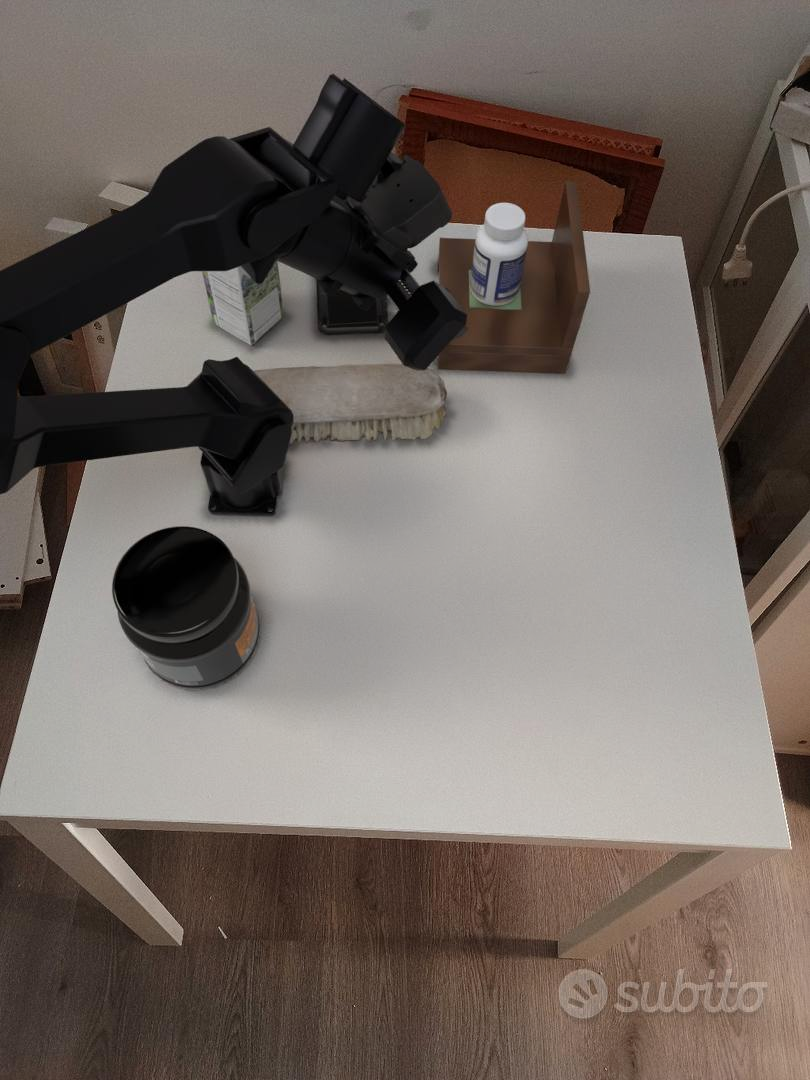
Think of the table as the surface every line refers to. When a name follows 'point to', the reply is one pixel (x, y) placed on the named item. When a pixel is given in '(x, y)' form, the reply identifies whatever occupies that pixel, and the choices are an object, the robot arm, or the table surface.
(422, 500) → the table surface
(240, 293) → the syrup box
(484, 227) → the pill bottle
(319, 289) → the phone
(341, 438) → the shoe brush
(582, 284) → the wooden corner stand
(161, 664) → the supplement container
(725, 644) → the table surface
